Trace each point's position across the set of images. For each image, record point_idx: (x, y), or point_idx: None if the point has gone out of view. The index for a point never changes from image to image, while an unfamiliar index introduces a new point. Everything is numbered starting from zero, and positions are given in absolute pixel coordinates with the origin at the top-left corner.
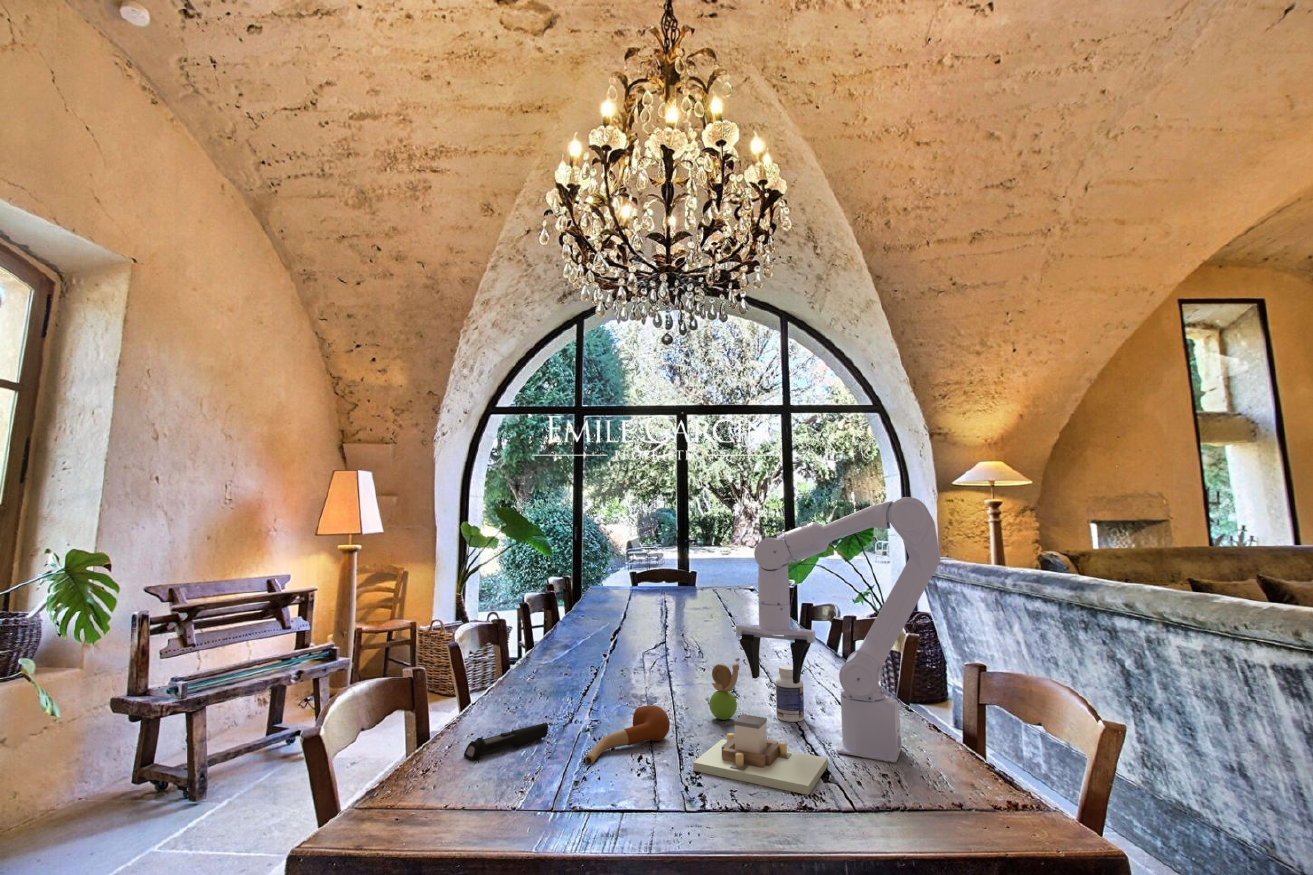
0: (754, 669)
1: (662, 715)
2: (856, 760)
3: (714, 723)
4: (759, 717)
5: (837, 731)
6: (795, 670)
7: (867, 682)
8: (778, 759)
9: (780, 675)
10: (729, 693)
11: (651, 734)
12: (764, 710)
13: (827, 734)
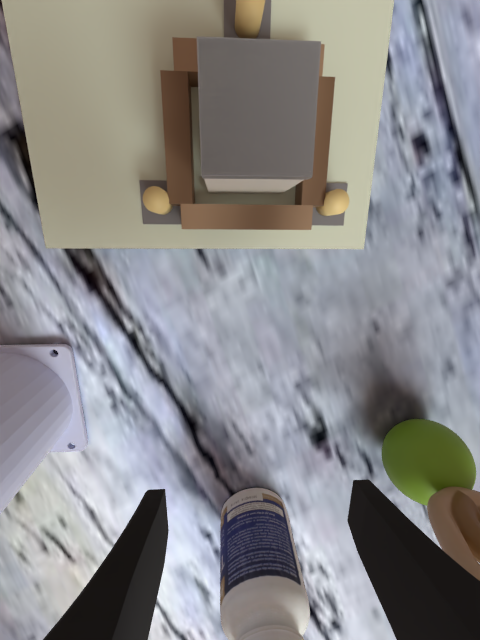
0: (380, 513)
1: None
2: (12, 324)
3: (416, 398)
4: (231, 162)
5: (126, 484)
6: (126, 547)
7: None
8: (162, 160)
9: (296, 632)
10: (428, 488)
11: None
12: (324, 531)
13: (140, 456)
